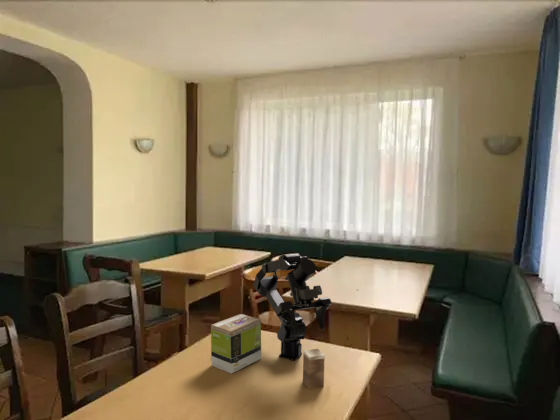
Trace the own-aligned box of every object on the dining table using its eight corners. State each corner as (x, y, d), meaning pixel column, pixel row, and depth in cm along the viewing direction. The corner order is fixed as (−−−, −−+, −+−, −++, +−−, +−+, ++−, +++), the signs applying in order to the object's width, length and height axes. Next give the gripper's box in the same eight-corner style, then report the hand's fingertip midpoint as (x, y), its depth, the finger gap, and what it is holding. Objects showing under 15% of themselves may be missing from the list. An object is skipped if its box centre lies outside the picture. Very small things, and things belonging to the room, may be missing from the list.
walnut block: (308, 388, 131) (309, 357, 130) (302, 381, 136) (303, 350, 135) (323, 386, 133) (324, 355, 132) (317, 378, 137) (318, 348, 136)
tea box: (241, 351, 157) (241, 312, 156) (261, 359, 151) (262, 318, 149) (210, 365, 146) (210, 323, 144) (230, 375, 139) (231, 330, 138)
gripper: (281, 279, 137) (293, 326, 130) (331, 274, 145) (346, 319, 137) (270, 293, 146) (281, 338, 138) (318, 288, 154) (331, 330, 146)
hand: (310, 331), depth 140 cm, fingers open, 9 cm apart
